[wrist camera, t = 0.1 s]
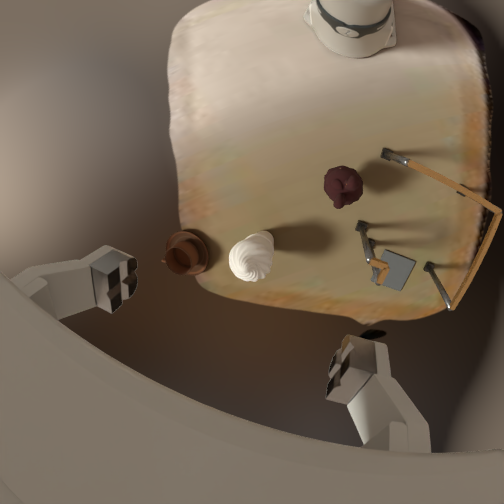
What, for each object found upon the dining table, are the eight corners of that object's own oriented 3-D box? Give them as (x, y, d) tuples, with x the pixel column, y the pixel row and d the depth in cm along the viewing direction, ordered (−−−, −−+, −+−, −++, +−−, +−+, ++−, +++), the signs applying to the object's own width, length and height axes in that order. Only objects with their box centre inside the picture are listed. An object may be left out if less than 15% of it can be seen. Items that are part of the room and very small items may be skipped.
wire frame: (383, 147, 46) (404, 153, 32) (466, 187, 43) (506, 209, 28) (350, 241, 56) (354, 281, 41) (429, 271, 53) (452, 315, 38)
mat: (384, 249, 54) (385, 250, 54) (414, 261, 53) (415, 262, 53) (370, 280, 58) (370, 281, 58) (399, 290, 57) (400, 291, 57)
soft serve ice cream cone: (270, 263, 64) (250, 301, 50) (240, 243, 64) (212, 276, 50) (289, 235, 60) (275, 269, 46) (257, 214, 60) (232, 241, 46)
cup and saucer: (187, 278, 73) (176, 290, 67) (161, 241, 70) (148, 250, 65) (220, 261, 67) (210, 273, 62) (193, 220, 65) (180, 228, 59)
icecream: (336, 154, 50) (338, 161, 37) (366, 176, 50) (378, 191, 37) (317, 182, 53) (312, 198, 40) (347, 203, 53) (352, 226, 40)
